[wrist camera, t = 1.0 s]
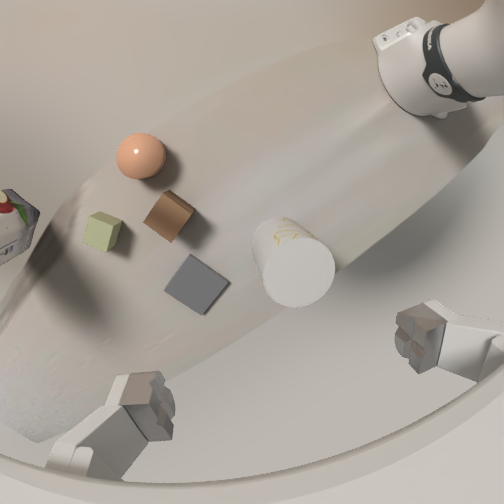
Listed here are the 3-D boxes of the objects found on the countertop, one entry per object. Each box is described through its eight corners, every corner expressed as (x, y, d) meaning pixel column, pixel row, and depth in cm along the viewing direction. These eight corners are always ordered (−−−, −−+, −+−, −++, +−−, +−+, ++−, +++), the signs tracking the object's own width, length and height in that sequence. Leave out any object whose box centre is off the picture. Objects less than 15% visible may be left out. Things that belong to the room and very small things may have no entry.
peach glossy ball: (142, 128, 35) (134, 124, 31) (174, 151, 36) (169, 149, 33) (118, 162, 36) (108, 162, 32) (149, 185, 37) (142, 188, 34)
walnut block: (169, 189, 38) (162, 193, 33) (195, 208, 39) (191, 214, 34) (152, 215, 39) (143, 222, 34) (176, 233, 40) (171, 242, 35)
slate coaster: (190, 253, 41) (189, 255, 40) (228, 280, 43) (228, 282, 42) (164, 288, 42) (163, 290, 41) (201, 312, 44) (201, 315, 43)
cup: (315, 232, 42) (348, 257, 30) (288, 278, 44) (310, 317, 32) (268, 206, 40) (287, 223, 29) (241, 256, 42) (249, 290, 30)
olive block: (100, 211, 37) (89, 216, 34) (122, 220, 38) (113, 226, 35) (93, 235, 38) (82, 242, 35) (115, 244, 39) (106, 252, 35)
